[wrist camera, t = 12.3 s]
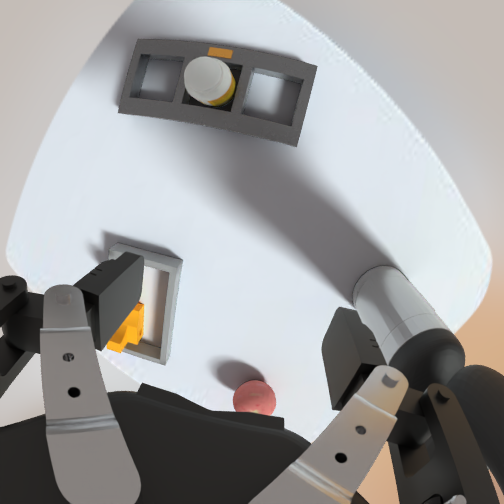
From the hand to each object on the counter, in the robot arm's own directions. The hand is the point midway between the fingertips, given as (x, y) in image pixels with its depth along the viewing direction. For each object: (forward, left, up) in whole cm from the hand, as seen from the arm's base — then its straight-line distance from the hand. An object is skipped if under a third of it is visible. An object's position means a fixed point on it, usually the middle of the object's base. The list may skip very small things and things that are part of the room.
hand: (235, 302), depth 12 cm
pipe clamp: (+16, +23, -30) cm, 41 cm away
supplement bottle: (+9, -12, -30) cm, 34 cm away
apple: (-8, +34, -30) cm, 46 cm away
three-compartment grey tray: (+9, -12, -30) cm, 34 cm away
